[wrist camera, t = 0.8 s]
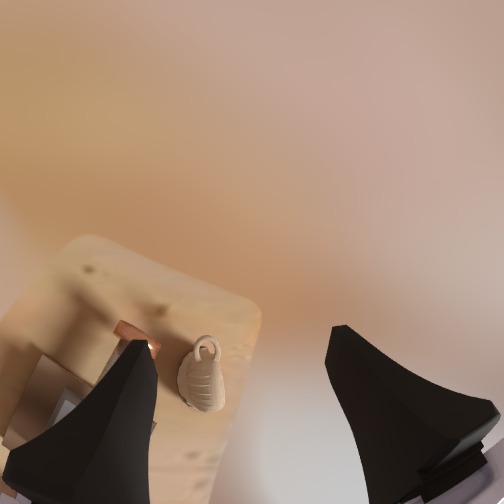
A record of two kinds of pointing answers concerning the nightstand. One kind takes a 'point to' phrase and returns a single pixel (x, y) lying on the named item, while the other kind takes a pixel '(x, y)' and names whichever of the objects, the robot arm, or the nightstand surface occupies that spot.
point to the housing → (45, 402)
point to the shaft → (126, 335)
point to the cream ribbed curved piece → (202, 377)
